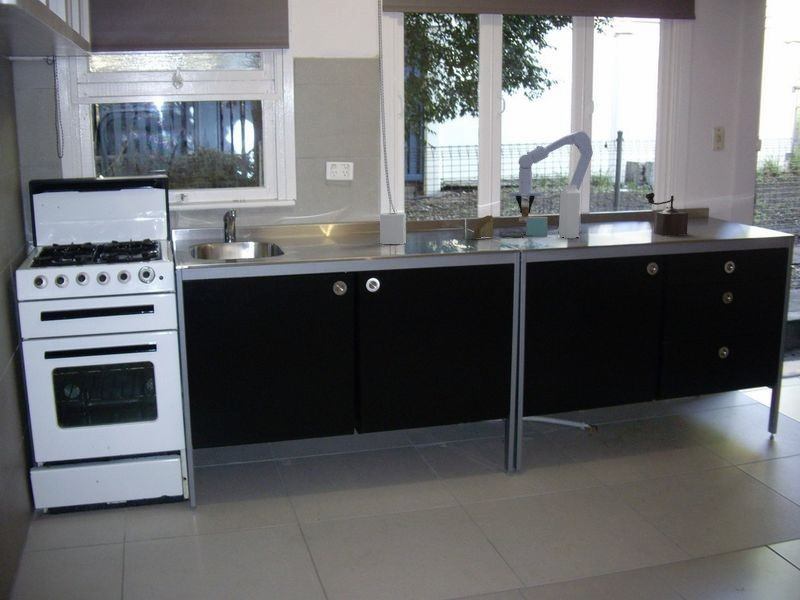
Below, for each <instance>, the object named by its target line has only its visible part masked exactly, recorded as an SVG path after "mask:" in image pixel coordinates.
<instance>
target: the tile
mask: <svg viewBox="0 0 800 600" xmlns="http://www.w3.org/2000/svg"><path fill="white" fill-rule="evenodd" d="M526 235H538V236H537V237H548V216H531V217H526V222H525V236H526Z"/></svg>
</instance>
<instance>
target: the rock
mask: <svg viewBox="0 0 800 600" xmlns="http://www.w3.org/2000/svg"><path fill="white" fill-rule="evenodd" d="M493 226H494V218H493V216H492V214H491V215H489V214H488V215H486V216H484V217H482V218H480V219H479V222H478V224H477V226H476V227H475V228H474V230H473V234H472V237H471V239H472V240H477V239H476V238H481V237H493V238H494V230H493V229H494V228H493Z"/></svg>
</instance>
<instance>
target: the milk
mask: <svg viewBox="0 0 800 600" xmlns="http://www.w3.org/2000/svg"><path fill="white" fill-rule="evenodd" d="M559 196H560V197H559V198H560V199H559V216H560V227H559V226H558V229H559V232H558V236H560V237H559V238H562V237H564V238H563V239H566V238H569V239H577V238H576V237H580V232H579V214H580V212H581V210H580V209H581V207H580V205H581V204H580V203H581V192H580V190H579V191H578V189H577V185H569V184H565V185H564V186H563V189H562V190H561V191H560V195H559Z"/></svg>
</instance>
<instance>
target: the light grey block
mask: <svg viewBox="0 0 800 600" xmlns="http://www.w3.org/2000/svg"><path fill="white" fill-rule="evenodd" d="M406 215H407V214H406V213H404V212H383V213H380V214H379V240H380V241H379V244H381V243H382V244H381V245H384V244H400V245H405V244H406V243H407V224H406V221H407V219H406V218H407V217H406ZM404 243H405V244H404Z"/></svg>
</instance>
